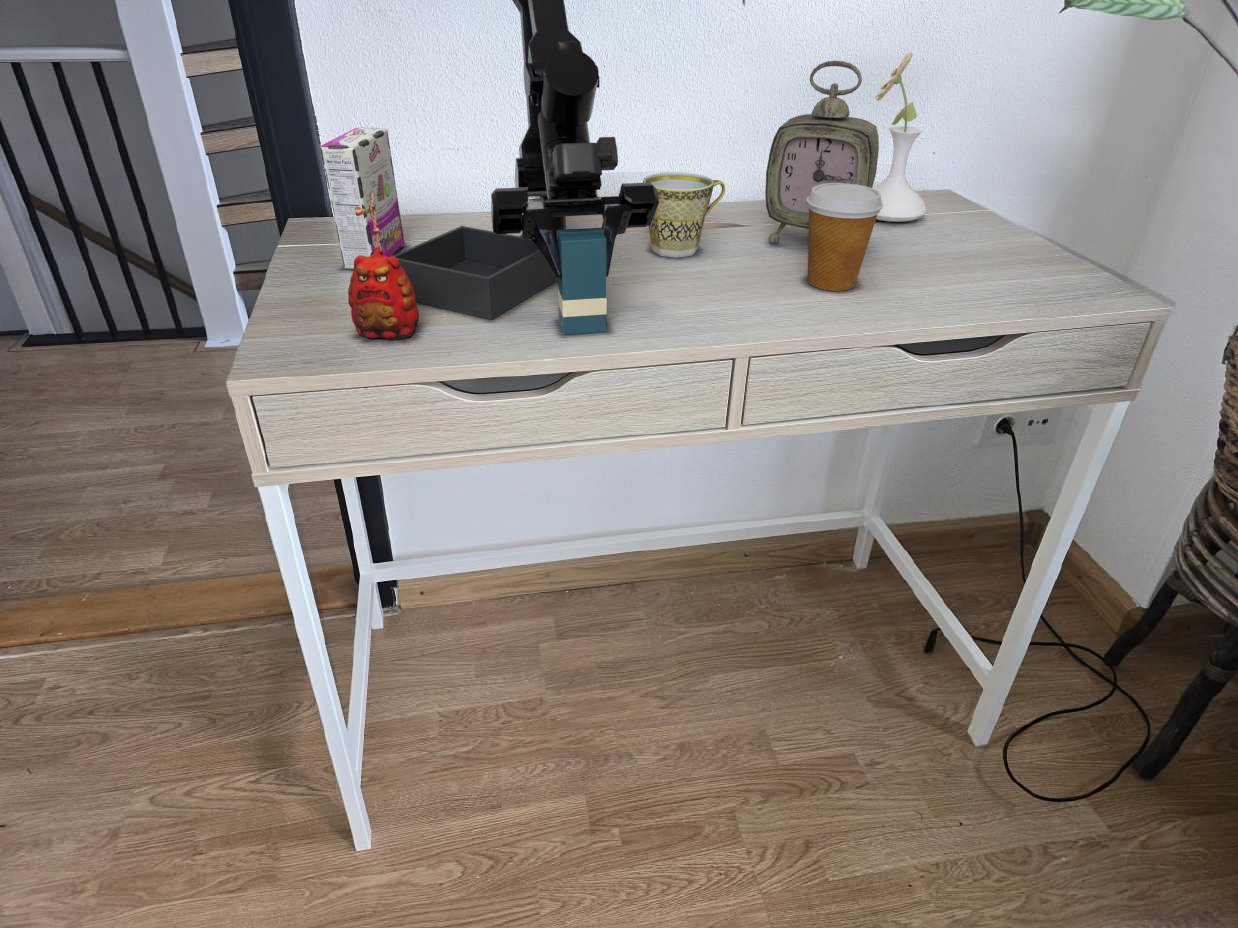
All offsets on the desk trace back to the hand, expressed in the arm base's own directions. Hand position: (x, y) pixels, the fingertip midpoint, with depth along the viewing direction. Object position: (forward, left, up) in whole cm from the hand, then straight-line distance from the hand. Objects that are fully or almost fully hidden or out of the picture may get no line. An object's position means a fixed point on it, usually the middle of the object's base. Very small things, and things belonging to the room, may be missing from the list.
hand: (583, 277), depth 91 cm
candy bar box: (-8, -39, -7) cm, 40 cm away
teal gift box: (-1, -1, -7) cm, 7 cm away
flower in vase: (-64, +21, -7) cm, 68 cm away
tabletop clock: (-45, +14, -7) cm, 48 cm away
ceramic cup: (-33, -2, -7) cm, 34 cm away
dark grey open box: (-5, -19, -7) cm, 21 cm away
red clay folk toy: (+11, -20, -7) cm, 24 cm away
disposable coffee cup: (-30, +21, -7) cm, 37 cm away
